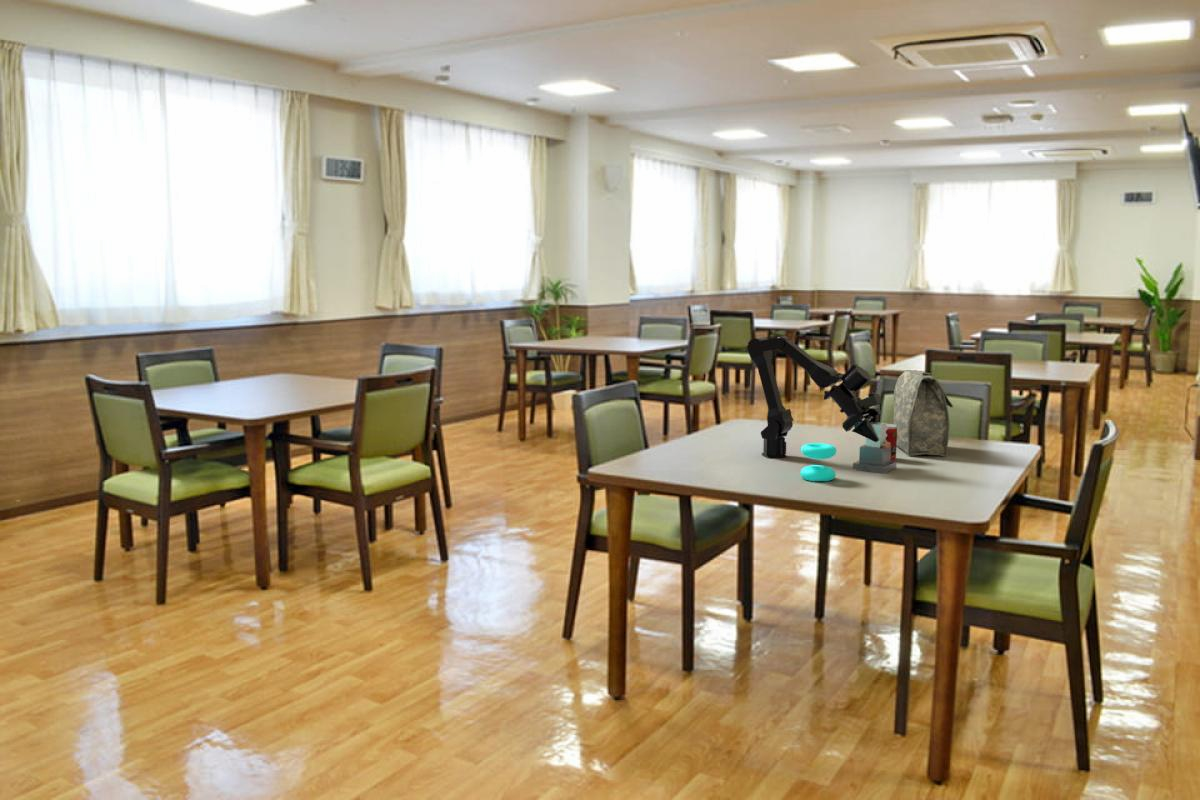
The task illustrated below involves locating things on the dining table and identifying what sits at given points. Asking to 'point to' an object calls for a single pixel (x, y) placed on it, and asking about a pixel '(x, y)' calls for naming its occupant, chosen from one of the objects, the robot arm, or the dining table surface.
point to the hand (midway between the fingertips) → (880, 440)
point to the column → (879, 432)
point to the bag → (921, 414)
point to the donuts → (818, 470)
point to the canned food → (892, 438)
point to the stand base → (875, 459)
